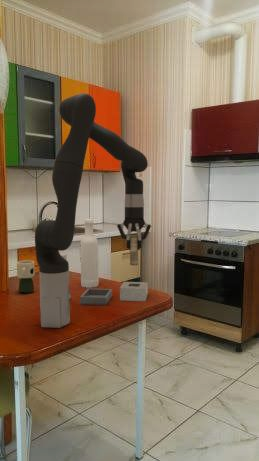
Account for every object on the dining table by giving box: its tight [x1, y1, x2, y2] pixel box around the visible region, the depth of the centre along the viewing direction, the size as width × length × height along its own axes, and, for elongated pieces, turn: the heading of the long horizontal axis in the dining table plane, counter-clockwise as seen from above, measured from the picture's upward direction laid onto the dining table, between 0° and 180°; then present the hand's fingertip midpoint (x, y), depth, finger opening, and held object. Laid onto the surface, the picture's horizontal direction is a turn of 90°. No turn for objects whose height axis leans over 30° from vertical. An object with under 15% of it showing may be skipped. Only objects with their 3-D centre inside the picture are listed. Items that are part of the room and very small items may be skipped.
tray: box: [79, 288, 113, 306], centre depth 145 cm, size 12×10×3 cm
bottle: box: [79, 218, 100, 289], centre depth 167 cm, size 8×8×30 cm
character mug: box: [16, 260, 36, 294], centre depth 157 cm, size 11×7×13 cm, turn 5°
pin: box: [129, 233, 139, 267], centre depth 148 cm, size 4×4×12 cm
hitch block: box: [119, 281, 149, 302], centre depth 149 cm, size 10×10×5 cm
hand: (134, 249), depth 148 cm, fingers closed on pin, 3 cm apart
